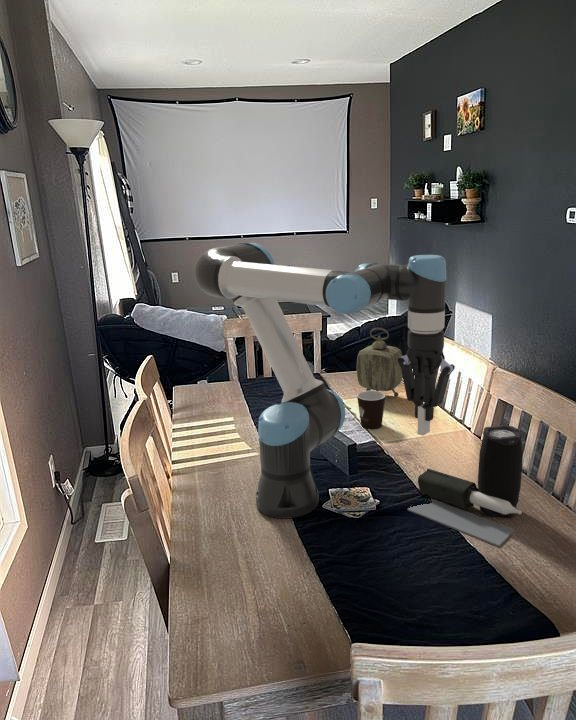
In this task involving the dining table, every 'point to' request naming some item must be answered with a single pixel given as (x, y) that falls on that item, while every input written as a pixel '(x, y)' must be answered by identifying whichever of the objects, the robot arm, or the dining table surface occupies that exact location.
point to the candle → (460, 492)
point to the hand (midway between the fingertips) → (423, 432)
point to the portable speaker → (500, 466)
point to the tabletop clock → (379, 366)
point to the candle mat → (464, 522)
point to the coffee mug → (371, 409)
